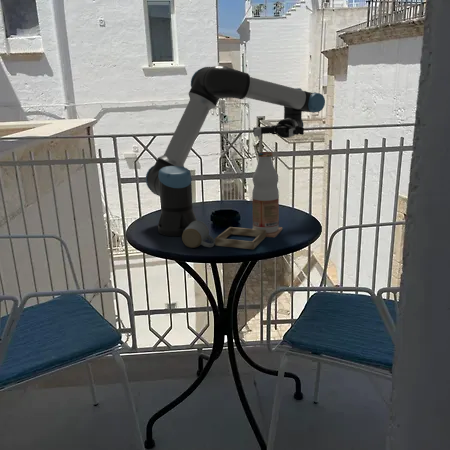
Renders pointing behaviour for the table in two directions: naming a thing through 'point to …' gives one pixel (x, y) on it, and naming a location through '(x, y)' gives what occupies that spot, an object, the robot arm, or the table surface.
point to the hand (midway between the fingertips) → (272, 133)
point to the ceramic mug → (197, 235)
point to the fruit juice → (265, 195)
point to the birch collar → (223, 241)
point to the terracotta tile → (274, 233)
